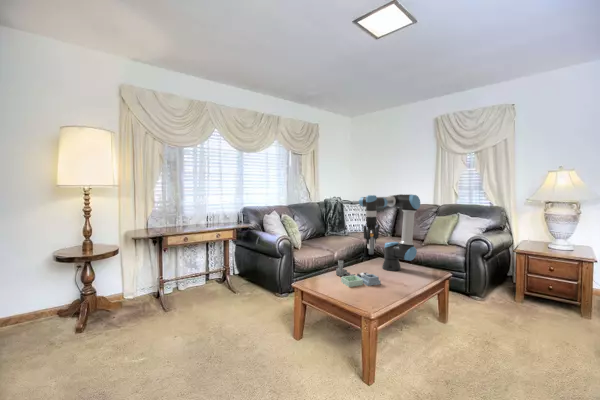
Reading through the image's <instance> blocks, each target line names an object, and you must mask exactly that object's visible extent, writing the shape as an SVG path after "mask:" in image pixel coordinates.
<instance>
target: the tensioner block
mask: <svg viewBox="0 0 600 400" xmlns="http://www.w3.org/2000/svg"><path fill="white" fill-rule="evenodd" d="M356 276H357V277H359V278H360V279H362V280H363V285H365V286H367V287H369V286H378V285H381V280H380V277H379V276H378V275H376V274H374V273H369V272H360V273H356Z"/></svg>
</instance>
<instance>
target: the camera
mask: <svg viewBox="0 0 600 400" xmlns="http://www.w3.org/2000/svg"><path fill="white" fill-rule="evenodd" d="M337 262H338V263H337V265H338V267H337V268H335V269H336V270H335V272H336V273H335V274H336V275H335V276H339V277H345V276H354V275H355V276H356V273H351V272H348V269H345V268H344V260H342V259H338V260H337Z"/></svg>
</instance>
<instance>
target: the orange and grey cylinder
mask: <svg viewBox="0 0 600 400" xmlns="http://www.w3.org/2000/svg"><path fill="white" fill-rule="evenodd" d="M369 240H370V249H369V248H368V254H369V255H374V252H375V251H374V249H375V248H374V234H373V233H372V232H370V238H369Z"/></svg>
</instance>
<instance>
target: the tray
mask: <svg viewBox="0 0 600 400" xmlns="http://www.w3.org/2000/svg"><path fill="white" fill-rule="evenodd" d="M340 278H341V279H340V280H341V281H340V282H341V283H342V284H343V285H345V286H347V287H348V288H350V287H351V288H352V287H358V286H363V285H364V284H363V280H362V279H360V278H359V277H357V275H356V274H355V275H354V276H345V277H342V276H340Z"/></svg>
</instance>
